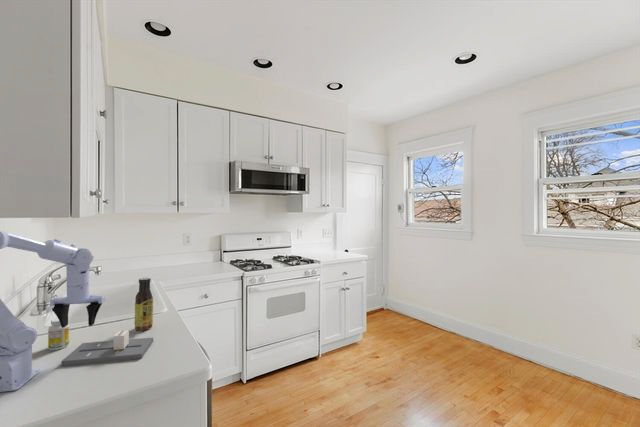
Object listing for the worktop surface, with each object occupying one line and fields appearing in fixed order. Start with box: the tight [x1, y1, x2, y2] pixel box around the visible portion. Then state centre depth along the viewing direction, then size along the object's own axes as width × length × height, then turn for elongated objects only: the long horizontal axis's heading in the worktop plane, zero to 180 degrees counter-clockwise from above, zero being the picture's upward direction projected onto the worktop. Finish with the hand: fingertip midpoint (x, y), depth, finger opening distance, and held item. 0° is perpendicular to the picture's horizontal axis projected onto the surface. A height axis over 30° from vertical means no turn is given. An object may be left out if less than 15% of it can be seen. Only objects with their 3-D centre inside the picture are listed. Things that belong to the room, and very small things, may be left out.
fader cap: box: [113, 330, 130, 350], centre depth 100 cm, size 4×3×5 cm
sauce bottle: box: [134, 277, 154, 332], centre depth 118 cm, size 6×6×20 cm
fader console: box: [60, 336, 154, 367], centre depth 99 cm, size 12×22×2 cm, turn 103°
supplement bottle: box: [47, 317, 70, 351], centre depth 102 cm, size 5×5×10 cm
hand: (78, 325), depth 98 cm, fingers open, 7 cm apart
